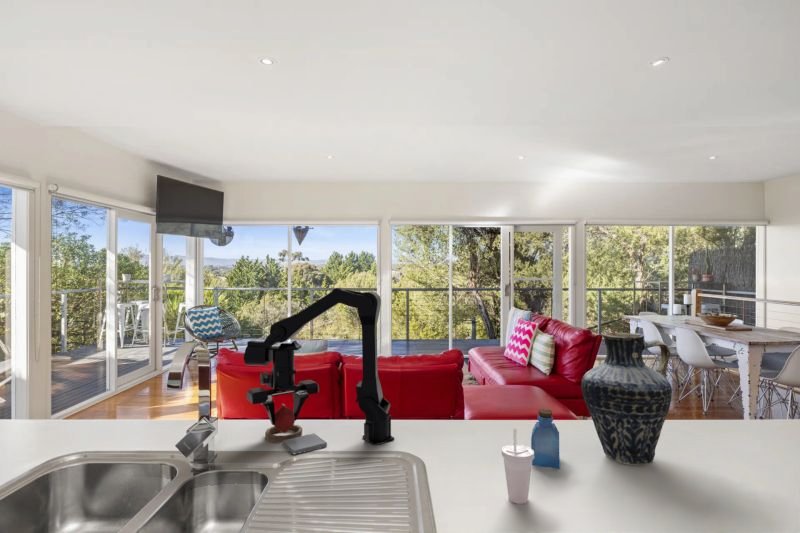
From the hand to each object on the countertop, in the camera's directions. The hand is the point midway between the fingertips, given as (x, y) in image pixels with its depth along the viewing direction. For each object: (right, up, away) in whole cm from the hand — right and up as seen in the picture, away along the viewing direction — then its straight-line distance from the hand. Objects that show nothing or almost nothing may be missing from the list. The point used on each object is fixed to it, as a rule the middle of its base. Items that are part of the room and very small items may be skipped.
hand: (284, 422), depth 125 cm
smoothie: (+55, -4, -35) cm, 65 cm away
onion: (0, -3, 0) cm, 3 cm away
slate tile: (+7, -4, -7) cm, 10 cm away
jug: (+87, -4, -15) cm, 88 cm away
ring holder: (0, -4, 0) cm, 4 cm away
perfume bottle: (+67, -4, -17) cm, 69 cm away
